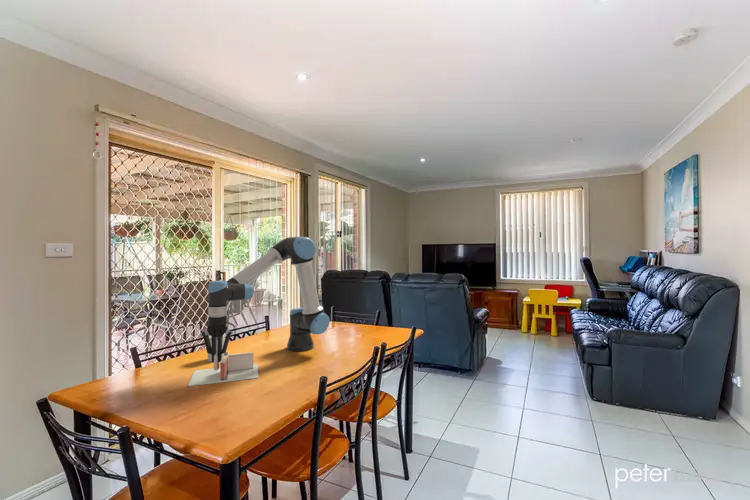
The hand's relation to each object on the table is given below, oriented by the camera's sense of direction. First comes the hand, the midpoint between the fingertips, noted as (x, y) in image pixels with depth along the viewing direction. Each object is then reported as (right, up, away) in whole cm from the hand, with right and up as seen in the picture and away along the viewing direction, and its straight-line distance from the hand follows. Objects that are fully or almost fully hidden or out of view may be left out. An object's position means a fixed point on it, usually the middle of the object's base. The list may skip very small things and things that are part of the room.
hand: (216, 369), depth 155 cm
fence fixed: (+6, -4, +11) cm, 13 cm away
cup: (-13, -5, +28) cm, 31 cm away
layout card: (+2, -4, +5) cm, 7 cm away
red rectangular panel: (+2, -4, +3) cm, 5 cm away
